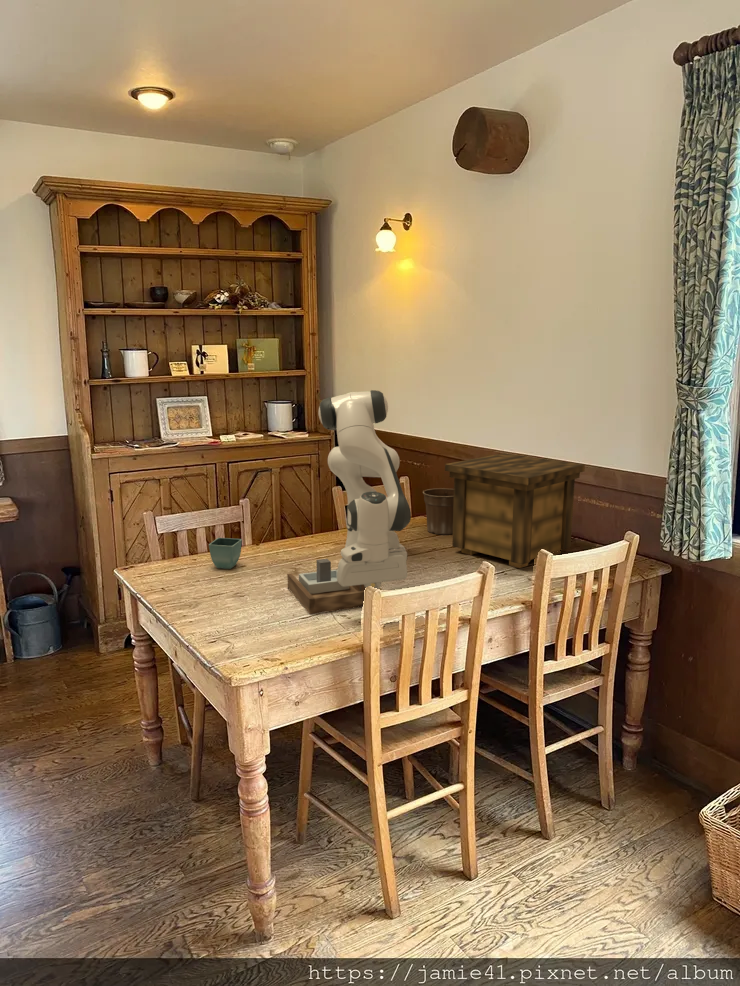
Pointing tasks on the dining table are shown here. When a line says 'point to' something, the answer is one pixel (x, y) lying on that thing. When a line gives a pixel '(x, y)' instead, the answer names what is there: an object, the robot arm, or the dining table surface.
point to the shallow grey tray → (321, 579)
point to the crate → (513, 506)
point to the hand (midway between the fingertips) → (372, 597)
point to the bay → (326, 597)
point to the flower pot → (225, 552)
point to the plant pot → (439, 510)
